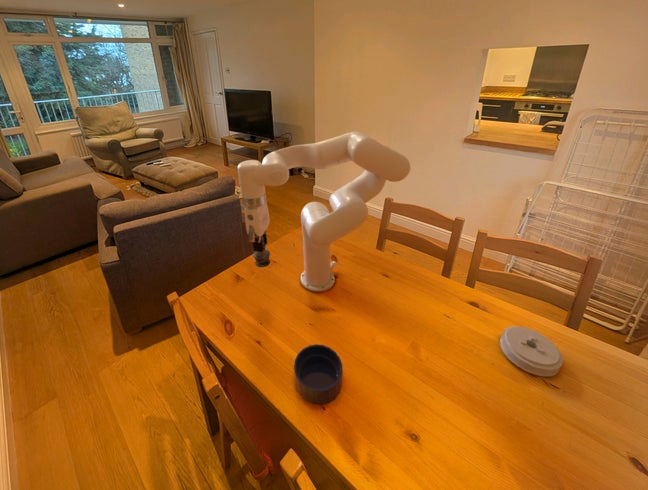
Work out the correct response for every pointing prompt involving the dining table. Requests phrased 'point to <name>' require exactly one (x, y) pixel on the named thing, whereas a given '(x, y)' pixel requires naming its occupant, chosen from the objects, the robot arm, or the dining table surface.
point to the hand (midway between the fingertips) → (260, 246)
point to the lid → (531, 351)
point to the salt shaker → (262, 256)
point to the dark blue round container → (318, 374)
